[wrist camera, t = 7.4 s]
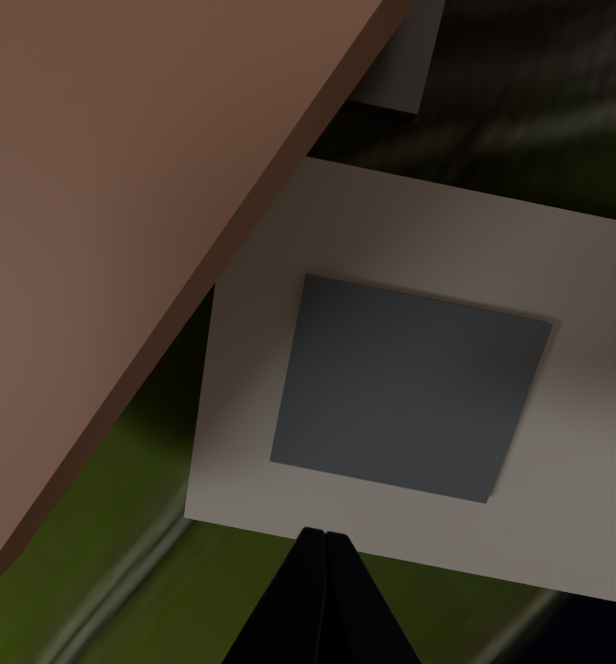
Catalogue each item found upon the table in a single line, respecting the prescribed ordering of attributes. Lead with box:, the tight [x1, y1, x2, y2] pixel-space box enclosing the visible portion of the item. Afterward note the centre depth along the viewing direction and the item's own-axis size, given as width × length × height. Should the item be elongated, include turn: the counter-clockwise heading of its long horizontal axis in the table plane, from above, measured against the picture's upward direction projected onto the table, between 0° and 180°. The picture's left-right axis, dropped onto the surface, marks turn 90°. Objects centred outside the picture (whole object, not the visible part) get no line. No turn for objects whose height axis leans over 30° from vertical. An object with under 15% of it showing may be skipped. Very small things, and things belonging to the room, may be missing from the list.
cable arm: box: [0, 0, 417, 577], centre depth 8 cm, size 19×4×3 cm, turn 142°
